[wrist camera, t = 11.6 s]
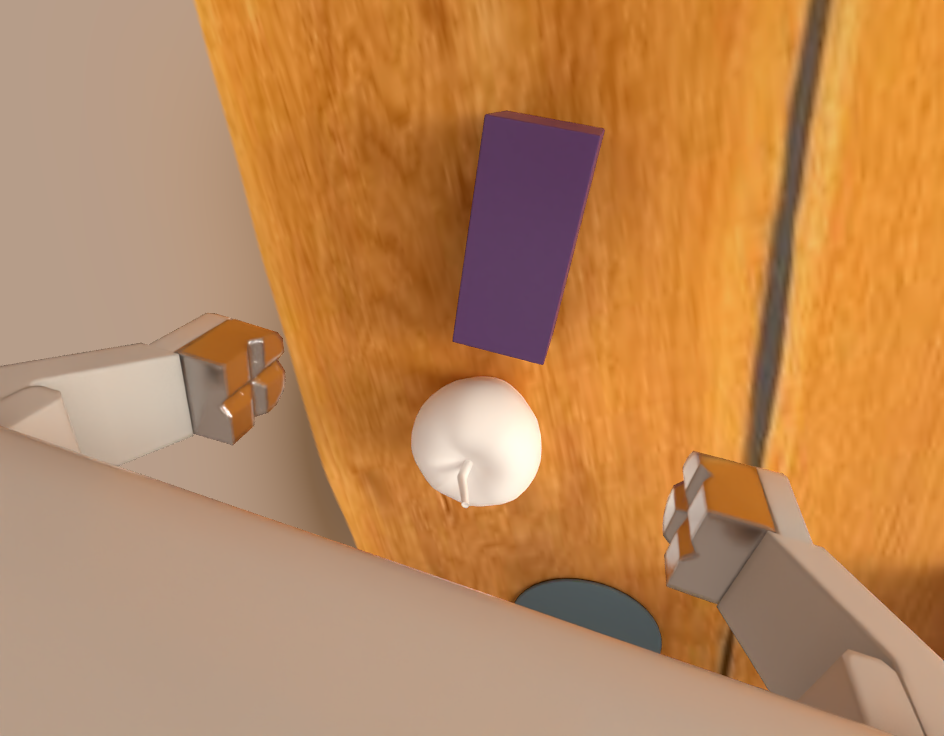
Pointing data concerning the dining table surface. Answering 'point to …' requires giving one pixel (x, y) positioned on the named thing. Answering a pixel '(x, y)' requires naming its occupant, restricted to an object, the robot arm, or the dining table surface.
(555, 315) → the purple rectangular block
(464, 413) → the plain white apple
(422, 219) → the dining table surface
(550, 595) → the cocktail glass
